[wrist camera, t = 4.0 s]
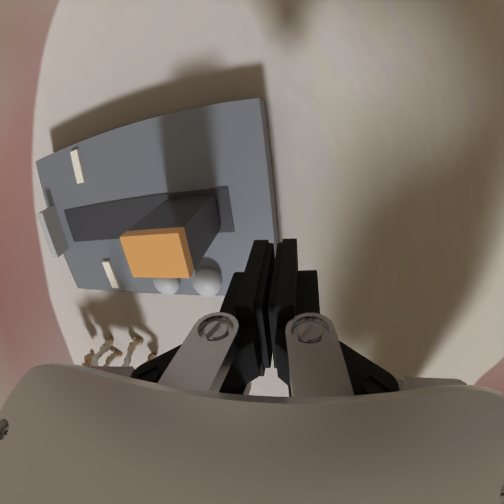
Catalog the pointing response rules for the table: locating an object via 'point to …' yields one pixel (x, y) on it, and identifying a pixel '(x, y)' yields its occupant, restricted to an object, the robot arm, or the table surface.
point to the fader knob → (172, 237)
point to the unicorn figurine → (93, 358)
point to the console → (162, 193)
